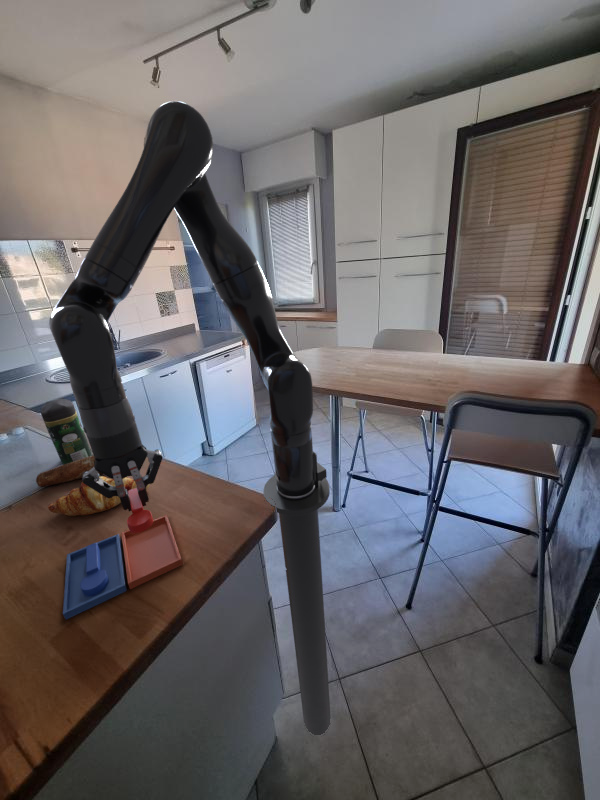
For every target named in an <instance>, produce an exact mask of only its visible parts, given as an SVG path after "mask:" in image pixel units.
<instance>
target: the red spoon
mask: <svg viewBox="0 0 600 800" xmlns="http://www.w3.org/2000/svg"><path fill="white" fill-rule="evenodd" d="M128 494H129V498H130V503H131V504H130V505H131V510H132V511H131V514H130V515H129V517H128V518H127V520H126V525H127V528H128V530H130V531H131V532H133V533H139V532H142V531H145V530H146V529H148V528H149V527H150V526H151V525H152V523H153V520H154V518H153V514H152V512H151V511H150V510H149V509H144V506H142V502H141V500H140V497H139V494H138V491H137V488H134V489H132V490H129V491H128Z"/></svg>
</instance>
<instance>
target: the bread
mask: <svg viewBox="0 0 600 800" xmlns="http://www.w3.org/2000/svg"><path fill="white" fill-rule="evenodd" d="M94 461H95V457H94V455H93V454H92V456H89V457H86V458H83V459H80V460H77V461H74V462H71V463H68V464H65V465H63V464H62V465H59V466H56V467H53V468H50V469H48V470H46V471H42V472H40V473H38V474H37V476H36V479H35V482H36V484H37V486H38V487H39V488H46V487H50V486H55V485H58V484H63V483H68V482H71V481H76V480H78V479H83V473H84V472H85V471H89V470H91V469H92V468H93V467H94ZM98 473H99V474H101V473H100V472H98Z"/></svg>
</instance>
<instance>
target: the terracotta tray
mask: <svg viewBox="0 0 600 800" xmlns="http://www.w3.org/2000/svg"><path fill="white" fill-rule="evenodd" d="M121 543H122V551H123V558H124V562H125V565H124V566H125V571H126V572H125V573H126V579H127V580H126V581H127V585H128V587H129V589H130V590H132V589H134V588H136V587H138V586H141V585H142V584H144V583H147V582H149V581H151V580H154V579H155V578H157V577H160V576H161V575H163V574H166V573H168V572H170V571H172V570H174V569H176V568H179V567H180V566H182V565H183V563H184V562H183V560H182V557H181V553H180V550H179V548H178V545H177V542H176V538H175V535H174V533H173V529H172V527H171V522H170V520H169V518H168V515H167V514H165V515H162V516H159V517H157V518H155V519H153V523H152V525H151V526H150V527H149V528H148V529H146V530H145V531H142V532H139V533H133V532H131V531H130V530H129V529H127V530H125V531H122V532H121Z"/></svg>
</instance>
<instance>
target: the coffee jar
mask: <svg viewBox="0 0 600 800" xmlns="http://www.w3.org/2000/svg"><path fill="white" fill-rule="evenodd" d="M40 415H41V418H42V420H43V423H44V425H45V428H46V431H47V433H48V435H49V437H50V439H51V442H52V444H53V447H54V448H55V451H56V452H57V455H58V458H59V460H60V462H61V464H62V465H65V464H68V463H71V462H74V461H77V460H80V459H83V458H86V457H89V456H92V455H93V452H92V449H91V446H90V444H89V441H88V438H87V435H86V433H85V432H84V429H83V424H82V422H81V419H80V418H79V416H78V413H77V410H76V408H75V405H74V402H72V400H70V399H66V398H62V397H61V398H57V399H53V400H49V401H46V402H45V404H43V405H42V406H41V407H40Z"/></svg>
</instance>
